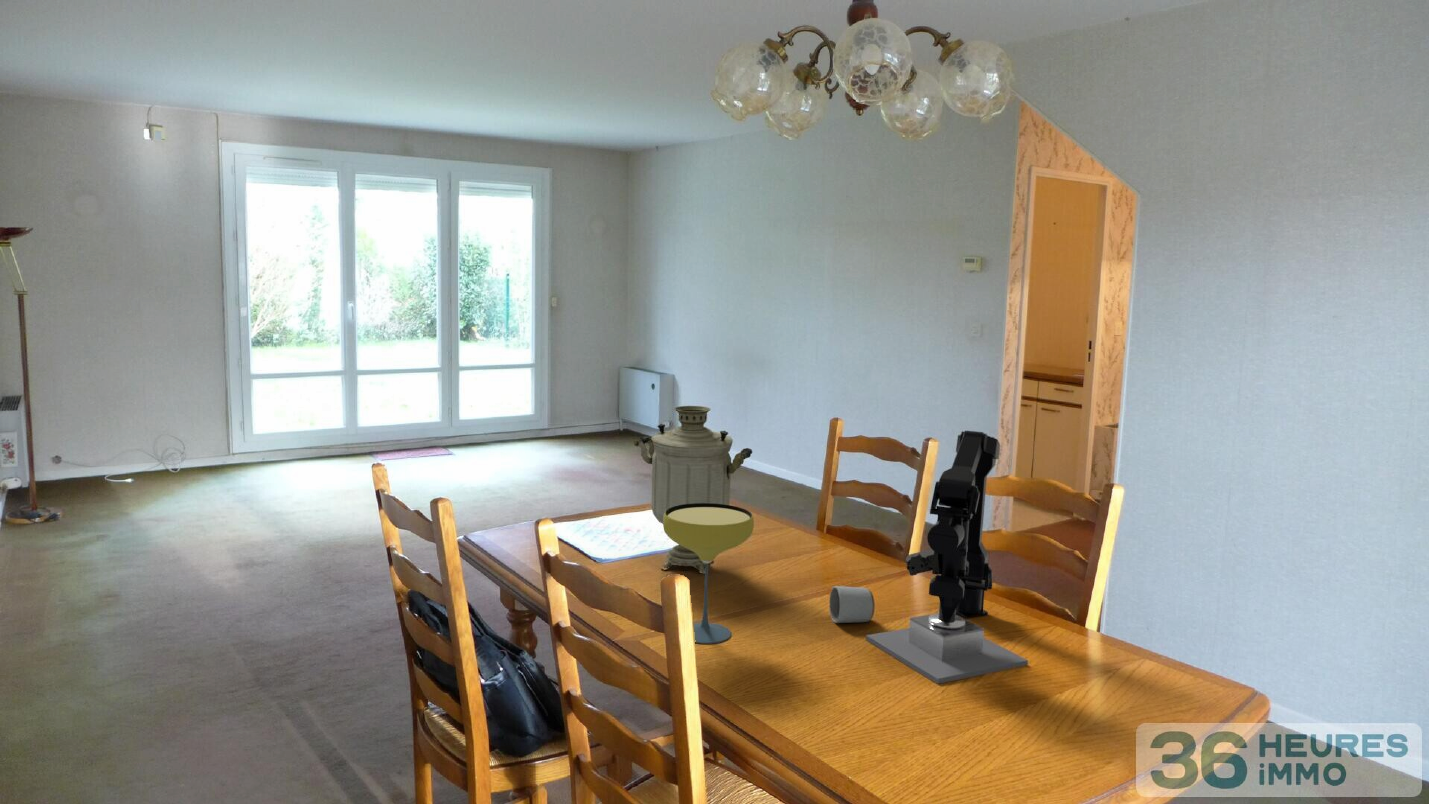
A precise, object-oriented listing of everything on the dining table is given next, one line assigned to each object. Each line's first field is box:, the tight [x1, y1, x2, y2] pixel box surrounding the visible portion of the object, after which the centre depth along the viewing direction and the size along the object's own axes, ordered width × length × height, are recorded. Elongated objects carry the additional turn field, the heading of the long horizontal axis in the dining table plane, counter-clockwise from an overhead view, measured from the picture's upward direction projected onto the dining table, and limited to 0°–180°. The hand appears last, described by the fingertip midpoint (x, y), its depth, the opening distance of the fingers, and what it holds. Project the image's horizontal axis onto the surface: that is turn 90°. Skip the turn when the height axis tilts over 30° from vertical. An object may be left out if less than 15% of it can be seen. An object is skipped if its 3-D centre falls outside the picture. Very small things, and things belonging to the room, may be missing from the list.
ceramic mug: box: [829, 585, 876, 624], centre depth 197 cm, size 11×8×8 cm
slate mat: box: [865, 627, 1029, 685], centre depth 181 cm, size 22×22×1 cm
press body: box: [908, 612, 985, 661], centre depth 181 cm, size 10×10×5 cm
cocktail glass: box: [662, 503, 755, 645], centre depth 185 cm, size 18×18×25 cm
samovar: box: [633, 405, 753, 573], centre depth 230 cm, size 30×26×40 cm
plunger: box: [928, 603, 965, 629], centre depth 180 cm, size 7×7×8 cm
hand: (946, 618), depth 180 cm, fingers closed on plunger, 3 cm apart
